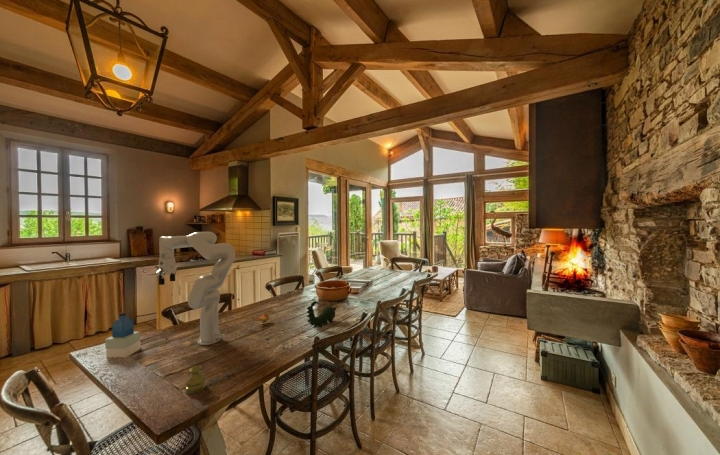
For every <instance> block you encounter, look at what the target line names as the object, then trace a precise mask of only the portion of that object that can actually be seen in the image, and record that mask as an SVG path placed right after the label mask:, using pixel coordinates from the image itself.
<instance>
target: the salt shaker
mask: <svg viewBox="0 0 720 455" xmlns="http://www.w3.org/2000/svg"><path fill="white" fill-rule="evenodd" d="M202 369H203V366H202V365H198V364H195V365H193V366H192V367H190V368H189V369H188V372H189V373H191V375H189V377H188V378H186V380H185V393H186V394H188V395H195V394H197V393H201V392H202V391H203V390H205V388H206V375H205V374H202V373H201V372H200V371H202Z"/></svg>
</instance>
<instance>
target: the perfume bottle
mask: <svg viewBox="0 0 720 455" xmlns="http://www.w3.org/2000/svg"><path fill="white" fill-rule="evenodd" d="M111 330H112V331H111V332H112V334H111V335H112V337H121V338H123V337H126V336H128V335H130V334H132V333H134V332H135V328H134V321H133V320H132V319H131V317H128V314H127V311H122V312H119V313H118V319H115V321H114V322H113V324H112V328H111Z"/></svg>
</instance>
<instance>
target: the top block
mask: <svg viewBox="0 0 720 455" xmlns="http://www.w3.org/2000/svg"><path fill="white" fill-rule="evenodd" d="M140 333H141V332H140V331H134V333H132V334H130V335H128V336H126V337H123V338H121V337H112V336H111V335H110V336H109V337H107V338H105V340H104V342H105V344H104V345H105V350H106V349H125V348H127V347H129V346H131V345H132V344H134V343H136V342H138V341H140V342H141V339H140V338H141V337H140V336H141V335H140Z"/></svg>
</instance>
